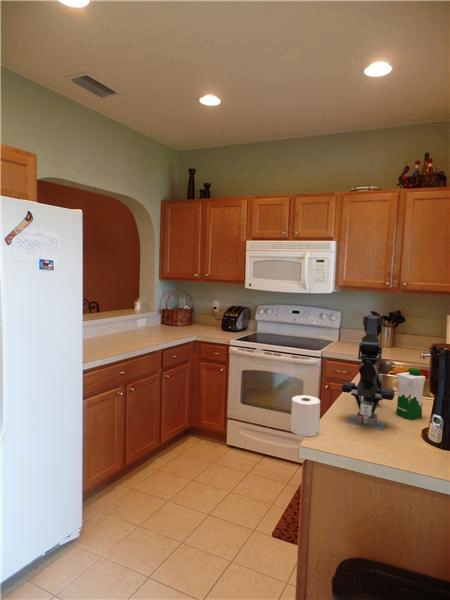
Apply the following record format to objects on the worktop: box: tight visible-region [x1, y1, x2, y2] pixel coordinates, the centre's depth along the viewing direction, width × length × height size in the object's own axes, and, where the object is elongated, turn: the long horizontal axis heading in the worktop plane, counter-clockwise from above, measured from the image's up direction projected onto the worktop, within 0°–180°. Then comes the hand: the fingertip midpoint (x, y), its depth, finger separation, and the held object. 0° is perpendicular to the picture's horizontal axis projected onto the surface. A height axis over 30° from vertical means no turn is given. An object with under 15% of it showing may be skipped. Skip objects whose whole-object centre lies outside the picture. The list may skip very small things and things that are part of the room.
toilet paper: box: [290, 394, 321, 437], centre depth 149 cm, size 10×10×12 cm
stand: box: [344, 410, 388, 432], centre depth 156 cm, size 10×14×4 cm
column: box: [359, 400, 373, 425], centre depth 155 cm, size 5×4×8 cm
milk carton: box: [395, 368, 426, 421], centre depth 163 cm, size 9×9×20 cm
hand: (366, 412), depth 156 cm, fingers open, 4 cm apart
